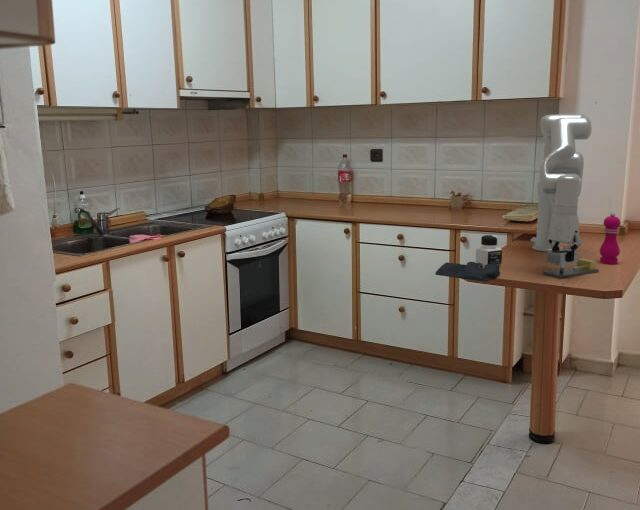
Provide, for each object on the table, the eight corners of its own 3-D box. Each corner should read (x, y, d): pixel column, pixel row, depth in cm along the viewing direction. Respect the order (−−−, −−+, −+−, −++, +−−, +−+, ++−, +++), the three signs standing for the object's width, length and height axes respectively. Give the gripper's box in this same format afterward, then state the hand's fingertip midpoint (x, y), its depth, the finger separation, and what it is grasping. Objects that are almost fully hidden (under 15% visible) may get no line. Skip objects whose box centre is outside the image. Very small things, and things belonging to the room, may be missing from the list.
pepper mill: (620, 264, 249) (625, 213, 245) (600, 264, 250) (605, 213, 246) (616, 260, 256) (620, 211, 251) (596, 260, 257) (600, 210, 253)
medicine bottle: (487, 269, 244) (488, 238, 241) (474, 265, 250) (476, 235, 247) (501, 267, 247) (503, 236, 244) (488, 263, 253) (490, 233, 251)
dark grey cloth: (448, 268, 248) (448, 256, 247) (504, 275, 236) (504, 262, 235) (431, 275, 236) (431, 263, 235) (489, 283, 224) (490, 270, 223)
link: (546, 262, 233) (547, 251, 232) (564, 259, 237) (565, 249, 236) (560, 265, 228) (560, 254, 227) (577, 262, 232) (578, 251, 231)
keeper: (543, 274, 235) (543, 260, 234) (580, 267, 244) (581, 255, 243) (560, 278, 228) (561, 264, 227) (598, 272, 237) (599, 258, 236)
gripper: (539, 208, 235) (536, 256, 238) (578, 213, 220) (574, 265, 223) (554, 207, 238) (551, 254, 242) (593, 212, 223) (589, 263, 227)
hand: (562, 259), depth 232 cm, fingers closed on link, 6 cm apart
